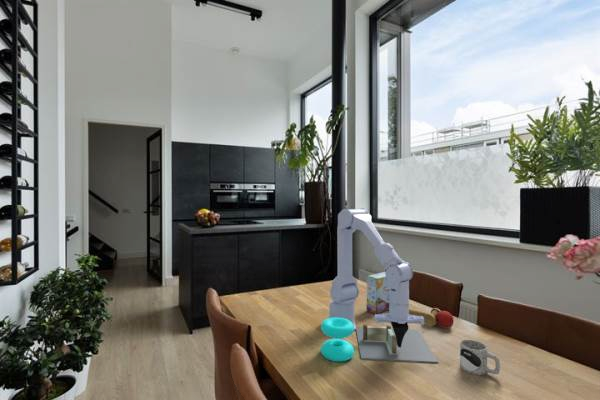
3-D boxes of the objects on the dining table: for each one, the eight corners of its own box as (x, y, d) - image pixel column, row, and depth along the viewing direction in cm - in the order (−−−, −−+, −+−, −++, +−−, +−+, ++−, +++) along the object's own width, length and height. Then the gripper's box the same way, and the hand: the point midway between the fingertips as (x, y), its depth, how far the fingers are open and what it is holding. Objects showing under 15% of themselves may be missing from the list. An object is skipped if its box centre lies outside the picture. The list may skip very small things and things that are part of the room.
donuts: (357, 328, 92) (323, 329, 91) (357, 363, 92) (323, 364, 91) (350, 315, 102) (319, 316, 101) (350, 346, 102) (319, 347, 101)
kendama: (402, 322, 125) (448, 330, 112) (401, 305, 126) (447, 311, 113) (412, 320, 130) (457, 328, 117) (412, 304, 131) (456, 310, 118)
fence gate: (387, 341, 104) (387, 327, 104) (391, 341, 104) (391, 327, 104) (392, 353, 96) (392, 339, 96) (397, 353, 96) (397, 339, 96)
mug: (455, 367, 90) (455, 343, 90) (466, 359, 94) (467, 337, 94) (494, 383, 82) (494, 358, 82) (504, 375, 86) (505, 350, 86)
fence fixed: (363, 341, 105) (363, 326, 105) (362, 339, 107) (363, 324, 106) (391, 343, 104) (391, 327, 104) (390, 341, 106) (390, 325, 106)
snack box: (376, 315, 128) (377, 278, 128) (365, 311, 133) (366, 275, 133) (406, 304, 142) (406, 270, 142) (395, 300, 146) (396, 268, 146)
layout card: (361, 359, 94) (361, 357, 94) (355, 328, 116) (355, 326, 116) (438, 363, 92) (438, 361, 92) (418, 330, 114) (418, 329, 114)
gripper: (376, 305, 95) (376, 351, 95) (427, 307, 93) (427, 353, 94) (373, 298, 102) (373, 340, 102) (420, 299, 100) (420, 342, 101)
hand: (398, 345), depth 98 cm, fingers closed
